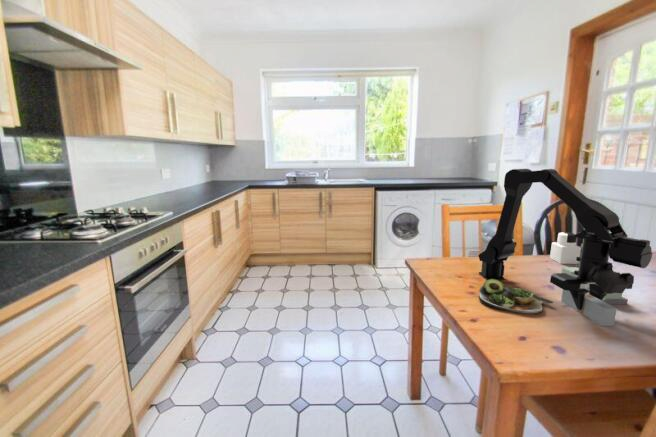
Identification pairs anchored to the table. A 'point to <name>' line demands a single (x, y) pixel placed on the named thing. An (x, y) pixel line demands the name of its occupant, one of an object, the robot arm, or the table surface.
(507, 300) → the salad plate
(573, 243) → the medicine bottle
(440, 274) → the table surface
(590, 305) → the banded grey bar
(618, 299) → the display stand
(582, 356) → the table surface
